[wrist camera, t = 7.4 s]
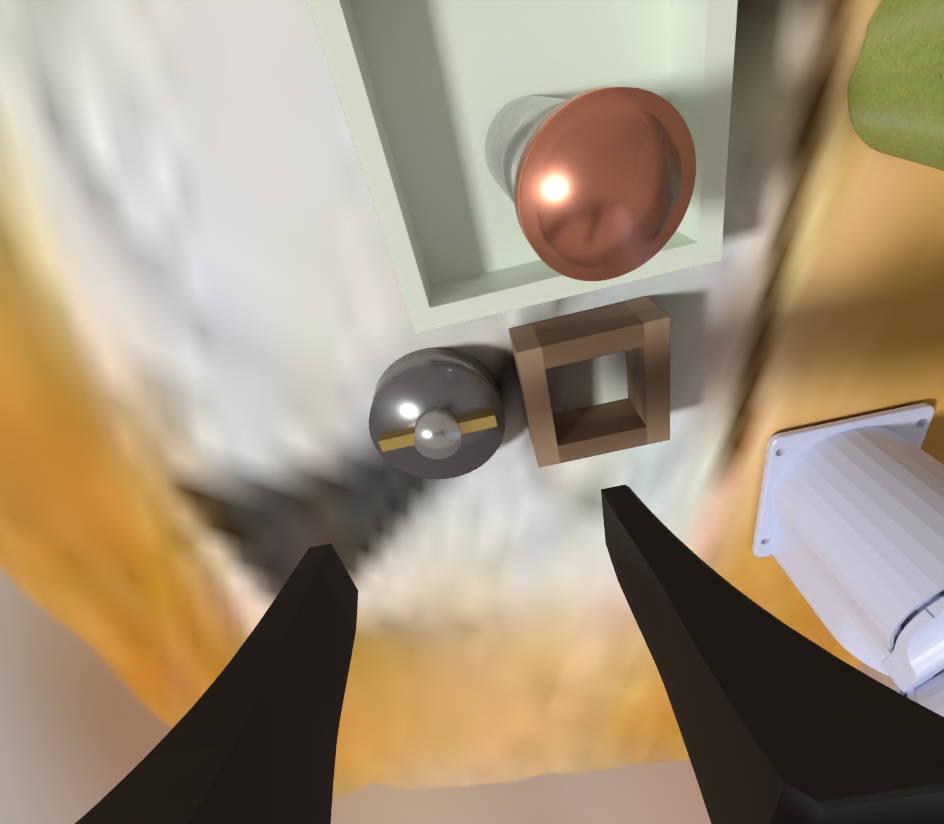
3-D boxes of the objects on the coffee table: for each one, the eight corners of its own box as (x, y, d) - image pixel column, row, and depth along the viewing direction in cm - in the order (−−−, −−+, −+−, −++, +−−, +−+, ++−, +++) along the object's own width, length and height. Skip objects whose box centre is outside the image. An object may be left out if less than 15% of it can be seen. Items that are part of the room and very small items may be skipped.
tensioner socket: (649, 410, 23) (669, 439, 21) (530, 437, 24) (538, 467, 21) (646, 296, 20) (670, 316, 18) (508, 328, 20) (516, 352, 18)
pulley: (510, 441, 24) (518, 477, 21) (397, 466, 24) (392, 504, 22) (486, 334, 20) (492, 363, 18) (355, 365, 21) (344, 397, 18)
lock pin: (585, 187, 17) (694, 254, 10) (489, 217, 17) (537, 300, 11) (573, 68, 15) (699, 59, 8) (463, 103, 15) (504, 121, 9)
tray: (683, 239, 19) (721, 259, 16) (417, 305, 19) (414, 333, 17) (690, -169, 13) (752, -238, 10) (308, -50, 14) (278, -87, 11)
